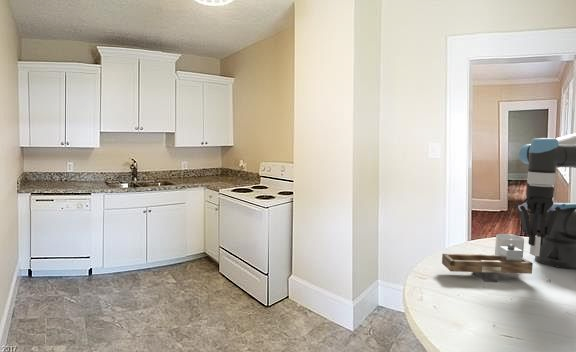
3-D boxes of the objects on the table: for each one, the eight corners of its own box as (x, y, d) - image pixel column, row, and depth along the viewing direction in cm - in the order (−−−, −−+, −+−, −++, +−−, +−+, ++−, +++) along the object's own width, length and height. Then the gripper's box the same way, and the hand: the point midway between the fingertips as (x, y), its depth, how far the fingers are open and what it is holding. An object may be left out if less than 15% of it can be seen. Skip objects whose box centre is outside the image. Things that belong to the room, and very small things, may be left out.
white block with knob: (513, 261, 127) (515, 243, 127) (521, 265, 123) (522, 247, 122) (498, 260, 127) (500, 243, 127) (505, 264, 123) (507, 246, 122)
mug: (517, 272, 131) (520, 241, 130) (490, 265, 137) (492, 236, 136) (527, 264, 139) (529, 235, 138) (501, 259, 146) (503, 231, 144)
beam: (516, 273, 130) (517, 254, 129) (532, 283, 121) (533, 263, 120) (441, 271, 131) (441, 252, 130) (450, 280, 122) (451, 261, 122)
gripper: (553, 184, 126) (547, 252, 128) (513, 183, 126) (508, 250, 128) (568, 187, 118) (562, 259, 120) (526, 186, 119) (520, 257, 121)
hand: (534, 254), depth 124 cm, fingers closed
